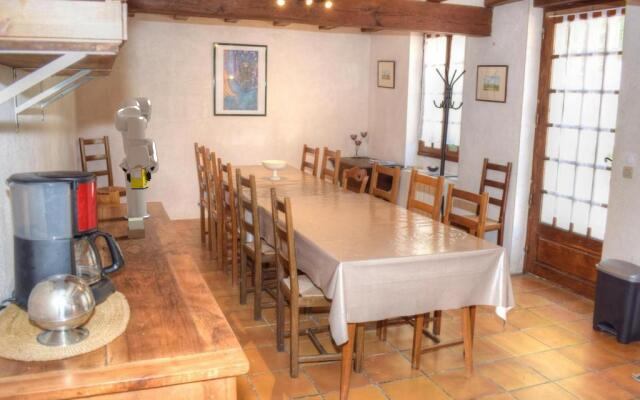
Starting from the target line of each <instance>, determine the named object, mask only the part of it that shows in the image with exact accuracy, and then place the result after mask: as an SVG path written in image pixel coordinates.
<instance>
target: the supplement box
mask: <svg viewBox="0 0 640 400" xmlns="http://www.w3.org/2000/svg"><path fill="white" fill-rule="evenodd" d="M130 178H131V190H144V189H146V190H147V189H149V181H148V176H147V169H146V168H144V166H134V168H132V169H131V170H130Z"/></svg>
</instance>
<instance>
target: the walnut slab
mask: <svg viewBox="0 0 640 400" xmlns="http://www.w3.org/2000/svg"><path fill="white" fill-rule="evenodd" d="M126 233H127V234H126V235H127V238H128V240H130V239H135V240H136V239H142V238H143V239H144V238H145V239H146V229H145V228H144V229H137V230H129V226H127V227H126Z"/></svg>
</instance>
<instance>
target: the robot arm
mask: <svg viewBox="0 0 640 400" xmlns="http://www.w3.org/2000/svg"><path fill="white" fill-rule="evenodd" d="M152 109H153V106H152V102H151V100H150V99H149V98H148V97H140V96H139V97H137V96H136V97H133V96H132V97H130V96H129V97H125V98H124V99H122V101H121V104H120V107H119V108H117V109H116V110H115V112H114V128H115V129H116V131H117V132H119V133H121V138H122V145H123V151H124V154H125V157H124V158H123V159H122V161H121V163H120V164H119V165H118V167H119V168H120V169H121V170H122V171H123V174H124V180H125V182H124V184H125V195H126V197H125V198H126V211H127V212H126V213H127V214H125V215H124V216H123V217H124V219H126V220H128V218H141V217H142V218H143V220H145V219H149V218H150V217H151V213H149V212H147V211H148V209H147V191H146V190H147V189H144V190H131V178H130V170H131V169H132V168H134V166H144V168H146V169H147V176H148V182H151V180H152V174H156V173H158V172H159V168H160V163H159V162H160V161H159V156H158V150H157V145H156V142H155V140H154V139H152V138H146V129H147V128H148V123H149V122H150V121H151V116H152V112H153V111H152Z"/></svg>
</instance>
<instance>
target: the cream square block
mask: <svg viewBox="0 0 640 400" xmlns="http://www.w3.org/2000/svg"><path fill="white" fill-rule="evenodd" d="M127 220H128V227H129V230H137V229H145V226H144V219H143V218H142V217H141V218H128V219H127Z"/></svg>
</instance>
